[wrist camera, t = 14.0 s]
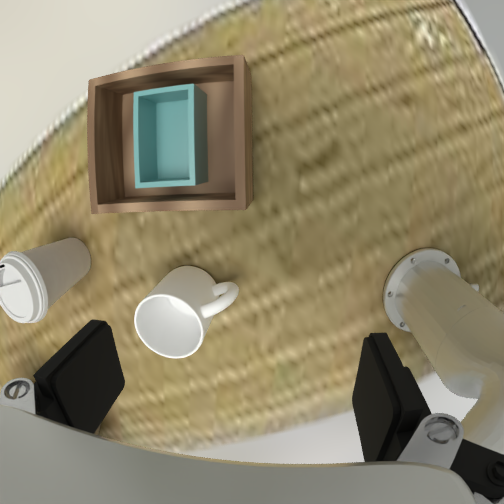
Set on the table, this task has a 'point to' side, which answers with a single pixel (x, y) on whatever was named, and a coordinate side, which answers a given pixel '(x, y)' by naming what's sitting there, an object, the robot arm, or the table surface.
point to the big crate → (218, 137)
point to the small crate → (170, 136)
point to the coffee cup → (40, 277)
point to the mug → (181, 311)
